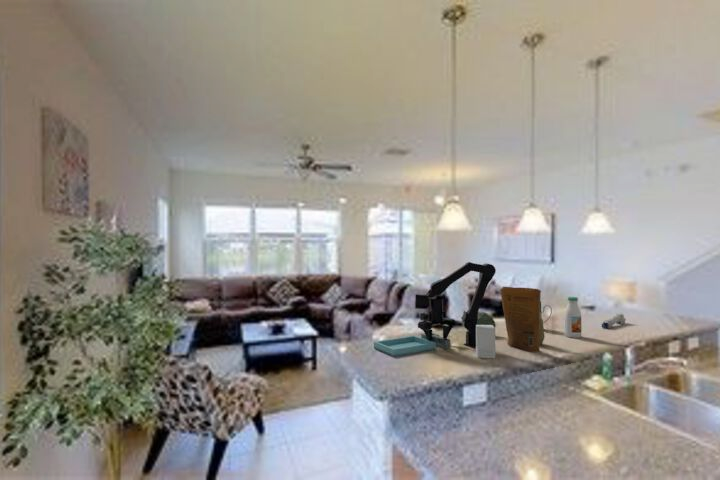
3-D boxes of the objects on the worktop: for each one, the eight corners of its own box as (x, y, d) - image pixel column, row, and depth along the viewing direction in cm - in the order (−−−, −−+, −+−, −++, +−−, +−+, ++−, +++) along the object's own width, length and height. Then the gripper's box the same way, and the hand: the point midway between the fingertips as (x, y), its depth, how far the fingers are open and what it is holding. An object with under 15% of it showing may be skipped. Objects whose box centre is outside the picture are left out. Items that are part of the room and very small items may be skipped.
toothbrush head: (599, 321, 232) (616, 310, 248) (600, 333, 233) (617, 321, 248) (610, 322, 228) (626, 311, 244) (610, 334, 229) (627, 322, 244)
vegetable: (502, 328, 222) (497, 320, 210) (484, 345, 222) (478, 338, 211) (485, 313, 230) (480, 304, 218) (468, 329, 230) (462, 321, 218)
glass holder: (529, 326, 238) (529, 299, 238) (555, 330, 228) (555, 302, 228) (522, 328, 232) (522, 301, 232) (548, 332, 222) (548, 304, 222)
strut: (452, 347, 193) (452, 339, 193) (442, 349, 190) (442, 340, 190) (431, 340, 206) (431, 332, 206) (421, 342, 203) (421, 333, 203)
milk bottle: (565, 337, 211) (564, 297, 211) (563, 334, 218) (563, 295, 218) (582, 338, 208) (582, 298, 208) (580, 335, 215) (580, 296, 215)
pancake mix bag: (536, 354, 181) (536, 289, 181) (499, 345, 197) (499, 285, 196) (545, 351, 185) (545, 288, 185) (508, 343, 200) (507, 284, 200)
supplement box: (495, 358, 175) (495, 328, 175) (477, 357, 176) (477, 327, 176) (493, 353, 182) (493, 324, 182) (475, 353, 184) (475, 324, 184)
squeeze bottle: (544, 342, 200) (544, 305, 200) (544, 346, 193) (544, 307, 193) (526, 341, 204) (526, 304, 204) (525, 345, 196) (525, 306, 196)
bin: (435, 349, 190) (435, 342, 190) (393, 356, 179) (393, 349, 179) (414, 341, 204) (414, 335, 204) (373, 348, 192) (373, 341, 192)
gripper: (440, 304, 209) (440, 336, 209) (410, 308, 200) (410, 340, 200) (456, 308, 199) (456, 340, 200) (425, 311, 190) (425, 346, 190)
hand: (437, 341), depth 198 cm, fingers open, 9 cm apart
